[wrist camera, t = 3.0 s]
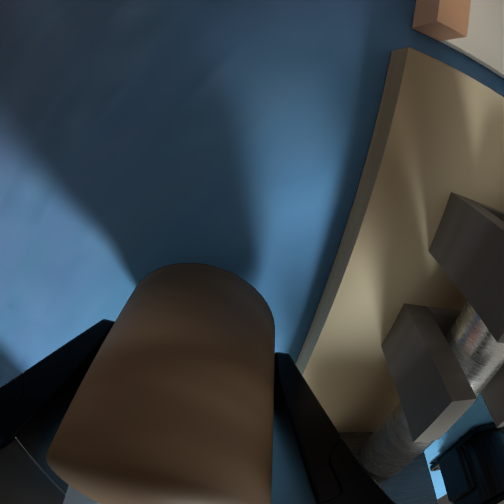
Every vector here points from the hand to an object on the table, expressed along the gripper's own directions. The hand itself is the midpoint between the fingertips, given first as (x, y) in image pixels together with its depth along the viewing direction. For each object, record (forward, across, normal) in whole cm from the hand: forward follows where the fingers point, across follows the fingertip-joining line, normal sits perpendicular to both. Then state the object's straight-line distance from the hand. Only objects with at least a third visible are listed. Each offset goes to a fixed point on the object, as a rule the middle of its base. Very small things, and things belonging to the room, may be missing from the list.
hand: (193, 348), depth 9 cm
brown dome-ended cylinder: (+1, 0, 0) cm, 1 cm away
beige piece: (+2, -9, 0) cm, 9 cm away
